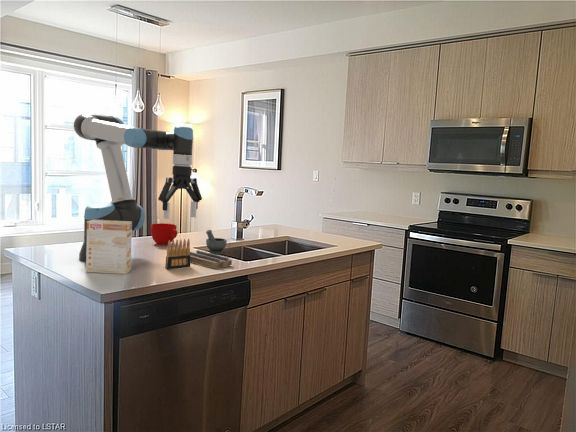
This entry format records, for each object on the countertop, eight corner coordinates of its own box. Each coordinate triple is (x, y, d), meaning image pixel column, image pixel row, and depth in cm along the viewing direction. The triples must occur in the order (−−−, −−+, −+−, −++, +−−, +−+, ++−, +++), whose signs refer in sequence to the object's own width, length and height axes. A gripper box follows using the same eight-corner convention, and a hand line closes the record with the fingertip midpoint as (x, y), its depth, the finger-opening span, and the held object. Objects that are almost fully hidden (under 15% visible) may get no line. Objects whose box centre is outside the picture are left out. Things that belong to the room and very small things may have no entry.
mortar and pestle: (217, 250, 233) (218, 227, 232) (229, 254, 227) (231, 230, 226) (199, 253, 225) (200, 228, 224) (211, 256, 219) (212, 231, 217)
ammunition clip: (167, 269, 187) (168, 240, 186) (165, 268, 189) (166, 239, 187) (190, 267, 195) (191, 238, 193) (188, 266, 196) (189, 238, 195)
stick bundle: (214, 268, 194) (214, 260, 194) (183, 260, 206) (184, 252, 206) (231, 265, 202) (232, 257, 201) (201, 257, 214) (201, 249, 214)
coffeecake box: (131, 270, 182) (132, 221, 180) (125, 274, 175) (127, 223, 173) (92, 268, 182) (93, 218, 179) (85, 272, 174) (86, 220, 172)
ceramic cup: (165, 248, 230) (166, 228, 229) (144, 243, 240) (145, 224, 239) (186, 246, 241) (186, 227, 239) (165, 241, 251) (166, 222, 250)
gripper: (162, 164, 175) (160, 220, 177) (211, 167, 195) (209, 217, 197) (150, 163, 180) (148, 218, 182) (200, 166, 199) (197, 215, 202)
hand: (180, 218), depth 189 cm, fingers open, 13 cm apart
